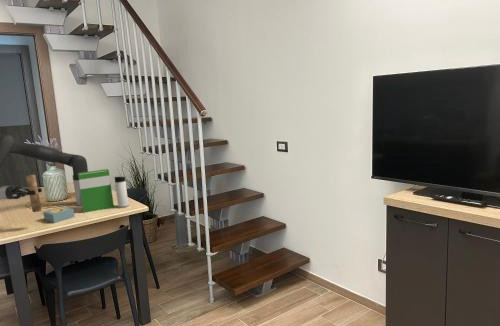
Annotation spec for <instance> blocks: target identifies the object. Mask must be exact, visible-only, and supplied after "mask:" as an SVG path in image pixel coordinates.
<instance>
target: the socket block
mask: <svg viewBox="0 0 500 326" xmlns="http://www.w3.org/2000/svg"><path fill="white" fill-rule="evenodd" d="M72 218H75V211H74V208H72V207H68V206H64V205H63V206H60V207H56V208H51V209H49V210H45V211H43V219H44V221H47V222H49V221H50V223H52V222H53V224H56V223H59V222H63V221H65V220H69V219H72Z"/></svg>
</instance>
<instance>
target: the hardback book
mask: <svg viewBox="0 0 500 326" xmlns="http://www.w3.org/2000/svg"><path fill="white" fill-rule="evenodd" d="M78 177H79V184H80V190H81V197H82V203H83V205H82V208H83V213H84V214H85V213H89V212H96V211H102V210H107V209H113V208H114V207H115V205H114V198H113V191H112V184H111V183H112V182H111V177H110V171H109V169H108V168H106V169H105V168H104V169H97V170H92V171H89V170H88V172H82V173H78Z"/></svg>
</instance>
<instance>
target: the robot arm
mask: <svg viewBox="0 0 500 326" xmlns="http://www.w3.org/2000/svg"><path fill="white" fill-rule="evenodd" d="M9 154H15V155H20V156H24V157H27V158H31V159H35V160H39V161H42V162H43V161H44V162H48V163H56V164H57V163H58V164H62V165H65V166H68V167H70V168H72V181H73V189H74V194H75V202H76V205H77V206H83V203H82V197H81V190H80V184H79V177H78V173H82V172H89V168H88V167H89V166H88V161H87V159H86V157H85V156H83V155H80V154H74V153H73V154H72V153H67V152H63V151H60V150H58V149H56V148H52V147H50V146H47V145H43V144H37V143H36V144H35V143H24V142H19V141H17V140H16V139H15V138H14V136H12V135H11V134H2V135H0V173H1V172H2V170H3V168H4V164H5V161H6V160H7V158H8V156H9ZM37 188H38V187H37ZM42 190H43V189H42V187H40V188H38V193H41V192H42ZM35 194H36V193H35V191H29V190H28V187H21V186H20V185H3V186H0V200H19V199H20V198H22V197H28V196H30V195H35Z"/></svg>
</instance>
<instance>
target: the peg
mask: <svg viewBox="0 0 500 326" xmlns="http://www.w3.org/2000/svg"><path fill="white" fill-rule="evenodd" d="M25 178H26V184H27V188H28V190H29V191H35V193H36V194H35V195H29V199H30V206H31V211H32V213H37V212H38V213H39V212H41V211H42V205H41V200H40V195H39V193H40V192H38V183H37V177H36V174H29V175H26V176H25Z"/></svg>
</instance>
